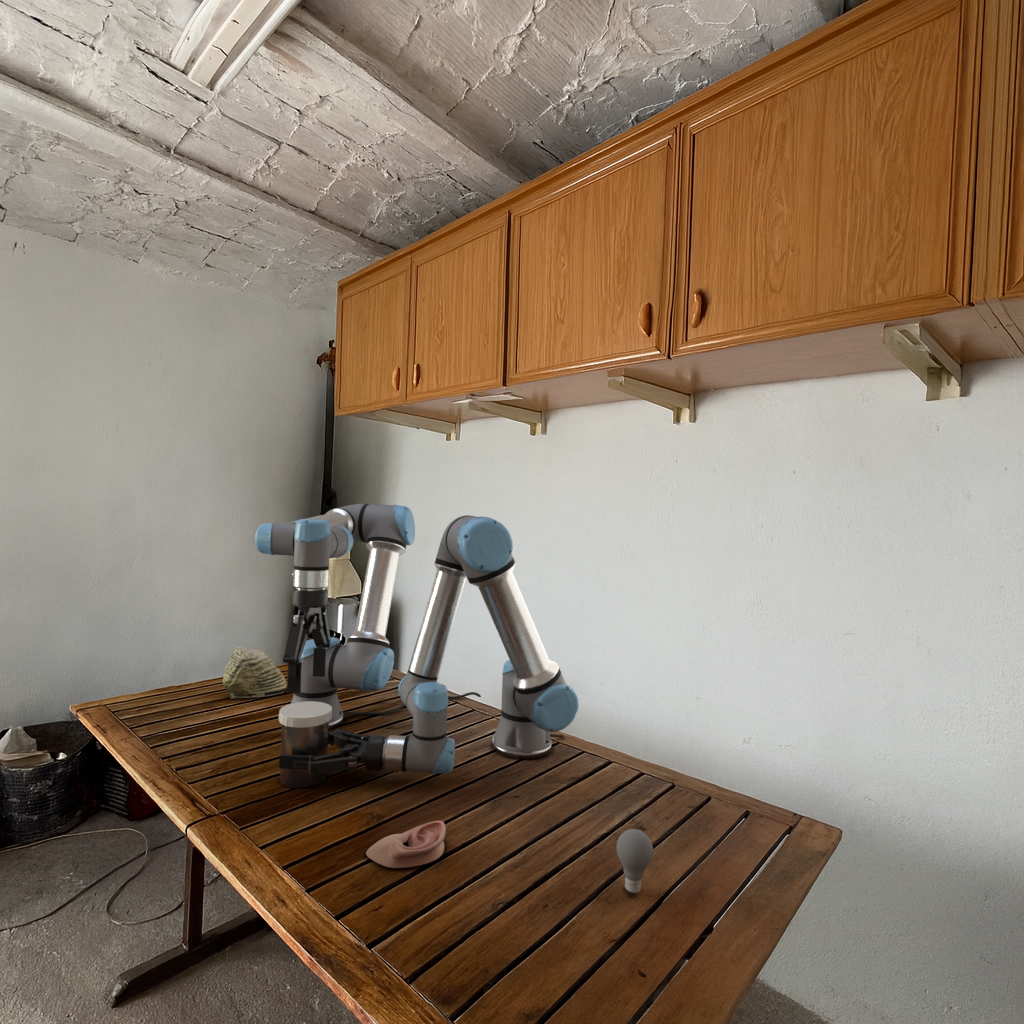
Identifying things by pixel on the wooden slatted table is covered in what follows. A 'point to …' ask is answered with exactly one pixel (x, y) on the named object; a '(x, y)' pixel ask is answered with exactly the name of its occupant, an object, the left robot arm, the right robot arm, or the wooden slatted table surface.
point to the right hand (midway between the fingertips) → (290, 748)
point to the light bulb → (634, 857)
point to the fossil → (252, 674)
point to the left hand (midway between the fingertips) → (306, 684)
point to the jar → (303, 753)
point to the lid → (305, 714)
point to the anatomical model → (410, 846)
